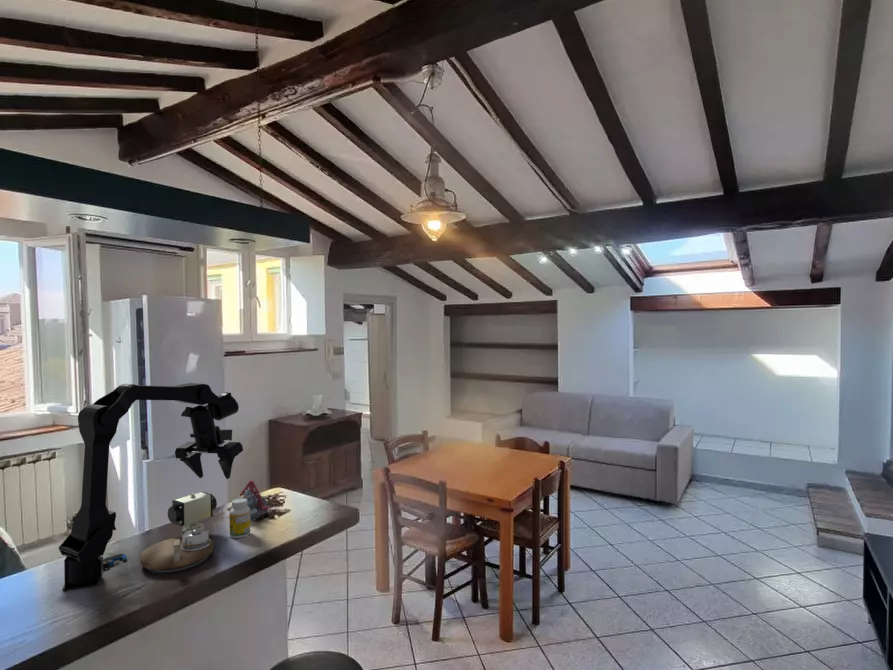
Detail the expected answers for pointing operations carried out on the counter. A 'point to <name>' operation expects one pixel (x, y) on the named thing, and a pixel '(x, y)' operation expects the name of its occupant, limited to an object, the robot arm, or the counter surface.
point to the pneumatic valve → (192, 510)
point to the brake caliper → (253, 501)
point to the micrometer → (113, 560)
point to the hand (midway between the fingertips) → (214, 477)
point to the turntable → (171, 555)
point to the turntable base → (177, 568)
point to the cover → (195, 540)
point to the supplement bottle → (239, 519)
